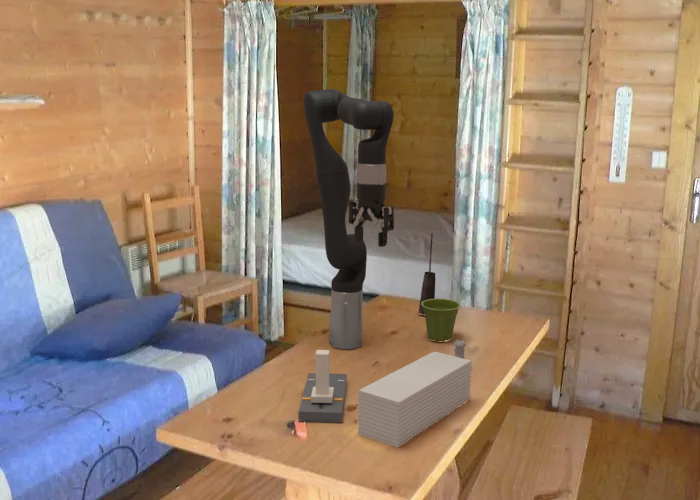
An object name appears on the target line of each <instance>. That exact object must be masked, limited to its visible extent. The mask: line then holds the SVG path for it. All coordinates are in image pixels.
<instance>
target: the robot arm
mask: <svg viewBox="0 0 700 500" xmlns="http://www.w3.org/2000/svg"><path fill="white" fill-rule="evenodd" d="M303 110H304V115H305V120H306V125H307V128H308V133H309V137H310V142H311V146H312V152H313V158H314V164H315V165H314V167H315V173H316V181H317V187H318V191H319V196H320V197H319V198H320V204H321V213H322V218H323V229H324V245H325V246H324V247H325V254H326V259H327V261H328V263H329V265H331V266H332V268H334V269H336V270H338V271H337V273H336V275H334V277H333V278H332V279H331V281H330V282H331V284H330V285H331V286H330V288H331V289H330V290H331V292H330V293H331V301H330V302H331V303H330V304H331V305H330V307H331V309H330V311H329V313H328V343H329V344H330V345H331V346H332V347H333V348H336V349H340V350H354V349H358V348H361V347H362V346H363V293H364V292H363V289H364V288H363V287H364V282H365V279H366V275H367V273H366V272H367V259H368V257H367V256H368V253H367V252H368V251H367V246H366V245H367V244H366V243H365V241H364V224H365V223H366V221H369V222H372V223H373V225H374V226H376V228H377V230H378V236H377V238H378V239H377V246H378V247H380V248H382V247H383V248H384V247H386V246H387V245H388V232H389V231H393V230H394V229H395V213H394V206H385V204H384V202H385V200H386V199H387V165H386V163H387V162H386V158H387V155H386V154H387V153H386V152H387V144H388V140H389V137H390V132H391V129H392V126H393V122H394V118H395V117H394V116H395V114H394V109H393V106H392V105H391V103H389V102H388V101H386V100H385V101H384V100H377V101H376V100H371V101H370V100H369V101H368V100H365V99H361V98H355V97H351V96H349V95H346V94H345V93H344V92H342V91H340V90H339V89H334V88H327V89H321V90H320V89H318V90H310V91H306V93H305V94H304V96H303ZM340 120H341V121H342V122H343V123H344V124H347V125H350V126H353V128H354V129H356V130H360V131H361V130H363V131H364V130H365V131H368V130H374V133H373V135H372V136H371V137H369V138H365V139H362V140H360V141H359V142H358V145H357V167H356V199H357V200H351V201H350V197H351V190H352V189H351V186H352V185H351V181H350V180H351V179H350V175H349V173H350V172H349V168H348V165H347V162H346V161H345V160H344V158H343V157H342V156H341V155H340V153H339V152H338V151H337V150H336V149H335V148H334V146H332V144H331V143H330V141H329V139H328V138H327V136H326V133H325V131H324V127H323V123H324V124H326V123H332V122H336V121H340ZM348 206H349V208H348ZM347 209H348V210H347ZM347 211H348V223H349V224H352V226H353V227H354V233H349V234H348V232H347V226H346V216H347V214H346V213H347Z"/></svg>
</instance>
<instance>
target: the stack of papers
mask: <svg viewBox="0 0 700 500" xmlns="http://www.w3.org/2000/svg"><path fill="white" fill-rule="evenodd" d="M471 375H472V360H470V359H466V358H465V359H463V358H459V357H455V355H449V354H446V353H442V352H438V351H432V352H430V353H428V354H426V355H424V356H422V357H420V358H418V359H417V360H415V361H413V362H410V363H409V364H407V365H405V366H403V367H400V368H399V369H396V370H395V371H393V372H391V373H389V374H387V375H385V376H384V377H382V378H379V379H378V380H376V381H374V382H371V383H369V384H368V385H365V386H364V387H363V388H359V389H358V403H357V404H358V409H357V410H358V411H357V412H358V413H357V414H358V415H357V417H358V420H357V426H358V427H357V431H358V432H357V434H358V435H359V436H362V437H366V438H368V439H371V440H374V441H377V442H379V443H383V444H385V445H388V446H392V447H393V448H396V449H398V448H400V447H401V446H403V445H405V444H406V443H407V442H409V441H411V440H412V439H413V437H414V436H415V437H417V436H418V435H420V434H421V433H423V432H424V431H425V429H426V430H427V429H428V427H429V426H430V427H432V426H433V425H435V424H436V423H438V422H439V421H440V420H439V419H441V418H443V417H444V416H446V415H447V414H448V413H450V412H451V411H453V410H454V409H456V408H457V407H458V406H460V405H461V404H463V403H464V402H466V401H467V400H469V399H470V400H471V378H472V377H471ZM456 410H457V409H456ZM453 412H454V411H453ZM450 414H451V413H450ZM447 416H448V415H447ZM447 416H446V417H447ZM444 418H445V417H444ZM444 418H443V419H444ZM438 420H439V421H438ZM441 420H442V419H441ZM437 421H438V422H437ZM435 422H436V423H435ZM434 423H435V424H434ZM432 424H433V425H432ZM431 425H432V426H431ZM430 427H429V428H430ZM423 430H424V431H423ZM422 431H423V432H422ZM420 432H421V433H420ZM419 433H420V434H419ZM417 434H418V435H417ZM416 435H417V436H416ZM415 437H414V438H415ZM410 439H411V440H410Z"/></svg>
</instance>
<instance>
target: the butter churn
mask: <svg viewBox="0 0 700 500" xmlns="http://www.w3.org/2000/svg"><path fill="white" fill-rule="evenodd" d="M433 235H434V234H433V232H431V234H430V245H429V247H430V248H429V249H430V250H429V265H428V271H424V275H423V279H422V284H421V285H422V286H421V291H420V299H419V305H418V313H421V314H425V313H424V309H423V306H422V305H421V303H422V302H423V301H425V300H428V299H436V272H432V270H431V269H432V255H433V254H432V252H433V238H434V237H433Z"/></svg>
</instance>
